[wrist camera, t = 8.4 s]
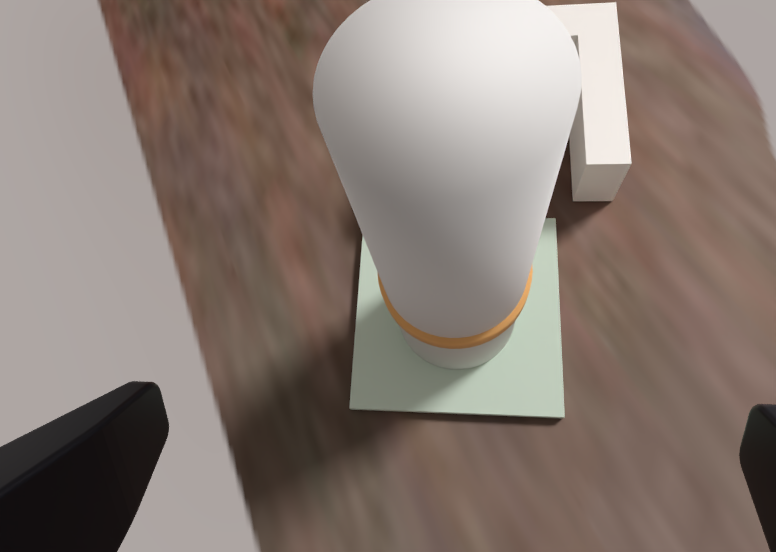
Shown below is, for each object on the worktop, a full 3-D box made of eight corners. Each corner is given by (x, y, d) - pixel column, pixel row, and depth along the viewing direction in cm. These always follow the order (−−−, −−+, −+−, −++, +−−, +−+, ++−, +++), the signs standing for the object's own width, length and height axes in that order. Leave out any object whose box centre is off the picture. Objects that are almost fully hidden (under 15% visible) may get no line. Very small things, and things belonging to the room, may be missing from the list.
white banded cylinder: (542, 338, 22) (651, 122, 9) (428, 395, 22) (372, 256, 9) (482, 235, 24) (501, -68, 11) (375, 286, 24) (265, 39, 11)
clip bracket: (612, 200, 24) (631, 163, 21) (402, 202, 25) (394, 167, 23) (600, 52, 27) (615, 2, 24) (410, 60, 28) (404, 13, 25)
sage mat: (562, 418, 22) (564, 417, 21) (351, 409, 23) (349, 408, 22) (554, 222, 24) (555, 218, 24) (365, 222, 25) (363, 218, 25)
